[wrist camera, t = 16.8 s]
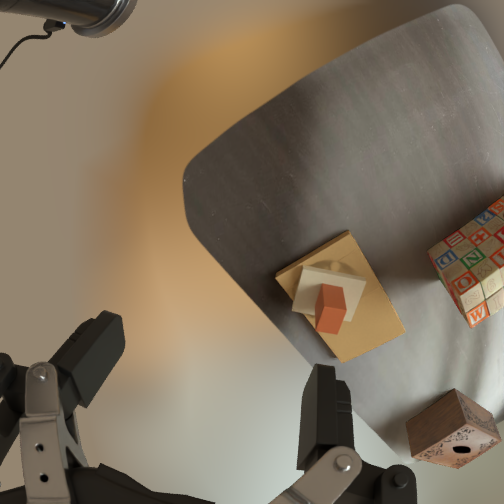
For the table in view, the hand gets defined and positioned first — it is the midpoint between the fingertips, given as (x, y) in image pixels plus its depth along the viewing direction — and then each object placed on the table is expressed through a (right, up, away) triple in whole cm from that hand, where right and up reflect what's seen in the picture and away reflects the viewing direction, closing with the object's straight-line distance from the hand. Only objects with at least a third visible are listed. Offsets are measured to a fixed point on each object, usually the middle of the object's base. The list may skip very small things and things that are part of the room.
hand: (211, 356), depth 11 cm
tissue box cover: (+52, -37, +42) cm, 77 cm away
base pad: (+16, -3, +32) cm, 36 cm away
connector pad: (+13, -1, +32) cm, 34 cm away
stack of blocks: (+37, +8, +24) cm, 44 cm away
